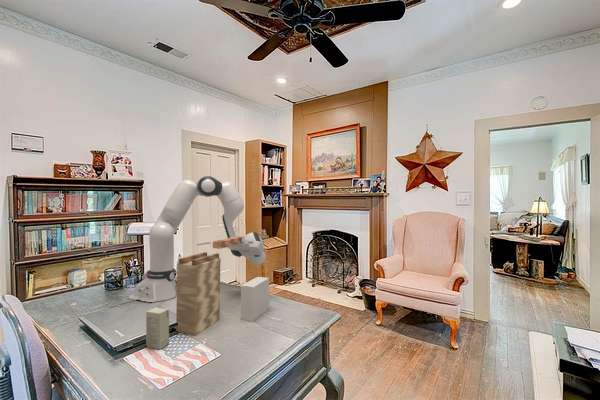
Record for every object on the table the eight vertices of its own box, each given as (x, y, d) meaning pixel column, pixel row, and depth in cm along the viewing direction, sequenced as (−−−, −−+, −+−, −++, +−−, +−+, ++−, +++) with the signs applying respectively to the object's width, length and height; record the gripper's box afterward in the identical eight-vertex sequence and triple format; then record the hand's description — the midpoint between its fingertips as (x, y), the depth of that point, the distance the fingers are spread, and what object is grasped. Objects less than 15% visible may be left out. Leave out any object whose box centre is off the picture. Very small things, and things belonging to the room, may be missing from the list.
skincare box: (169, 343, 99) (170, 309, 99) (159, 350, 94) (160, 313, 95) (155, 340, 101) (155, 306, 101) (145, 346, 97) (145, 310, 97)
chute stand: (201, 316, 122) (203, 252, 122) (219, 319, 119) (220, 253, 119) (176, 331, 108) (177, 258, 108) (195, 335, 105) (196, 260, 105)
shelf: (257, 307, 134) (257, 276, 134) (268, 309, 132) (269, 278, 132) (240, 319, 120) (241, 285, 120) (252, 321, 118) (253, 287, 118)
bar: (237, 242, 143) (237, 236, 143) (244, 242, 142) (244, 236, 142) (212, 248, 124) (212, 241, 124) (220, 248, 123) (220, 241, 123)
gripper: (233, 242, 155) (220, 232, 144) (267, 245, 148) (256, 234, 137) (230, 253, 152) (216, 243, 141) (264, 256, 145) (253, 246, 134)
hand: (236, 239), depth 139 cm, fingers closed on bar, 4 cm apart
